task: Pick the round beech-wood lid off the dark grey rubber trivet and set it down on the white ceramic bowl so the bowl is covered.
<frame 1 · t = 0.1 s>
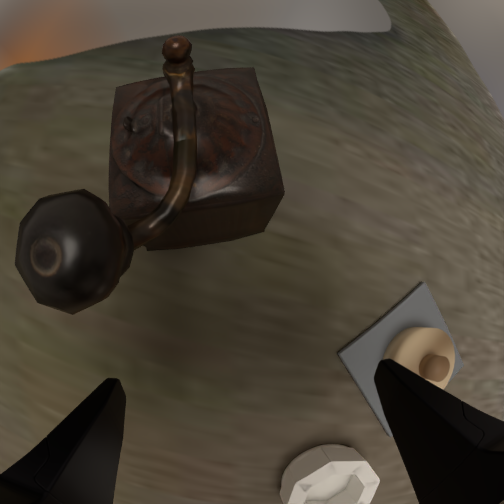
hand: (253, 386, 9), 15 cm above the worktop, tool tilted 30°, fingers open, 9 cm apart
lid: (411, 362, 24), point 1 cm above the worktop, touching trivet
manual coffee grinder: (198, 214, 26), on the worktop
bowl: (321, 476, 22), on the worktop
trivet: (408, 361, 24), on the worktop
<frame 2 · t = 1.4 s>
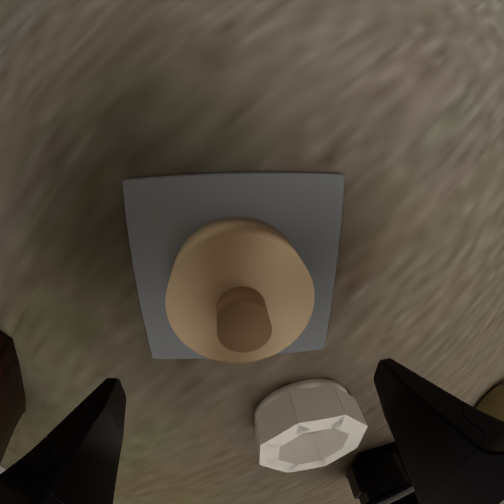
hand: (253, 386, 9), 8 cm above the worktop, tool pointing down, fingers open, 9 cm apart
lid: (237, 279, 16), point 1 cm above the worktop, touching trivet
manual coffee grinder: (0, 366, 18), on the worktop
squeeze bottle: (487, 397, 29), on the worktop
bowl: (302, 410, 22), on the worktop
trivet: (236, 274, 17), on the worktop
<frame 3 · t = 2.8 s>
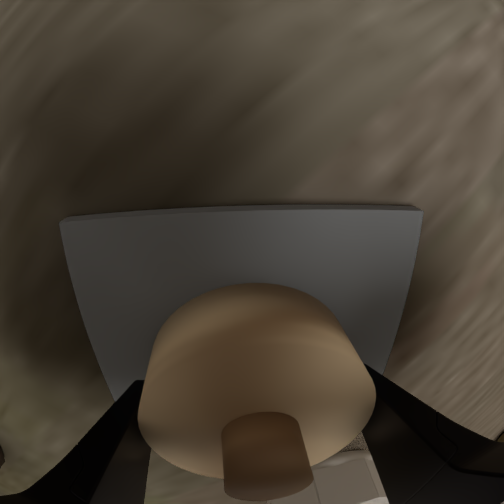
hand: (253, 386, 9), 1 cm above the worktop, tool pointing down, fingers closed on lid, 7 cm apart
lid: (250, 369, 10), point 1 cm above the worktop, touching gripper, trivet
bowl: (322, 477, 16), on the worktop
trivet: (249, 357, 10), on the worktop
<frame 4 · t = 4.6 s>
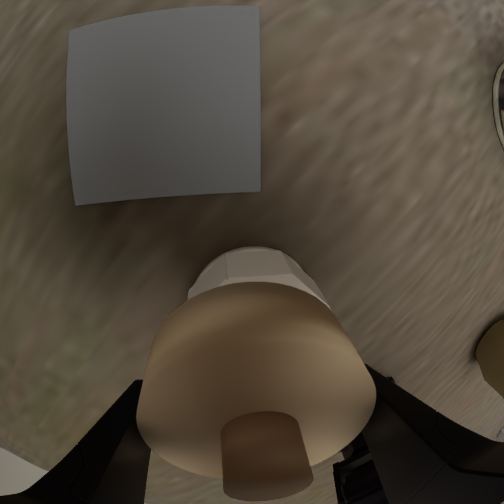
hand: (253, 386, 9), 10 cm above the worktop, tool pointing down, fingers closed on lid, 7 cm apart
lid: (250, 368, 10), point 10 cm above the worktop, touching gripper
squeeze bottle: (489, 337, 27), on the worktop
medicine box: (503, 428, 52), on the worktop
bowl: (251, 300, 20), on the worktop
trivet: (158, 99, 14), on the worktop
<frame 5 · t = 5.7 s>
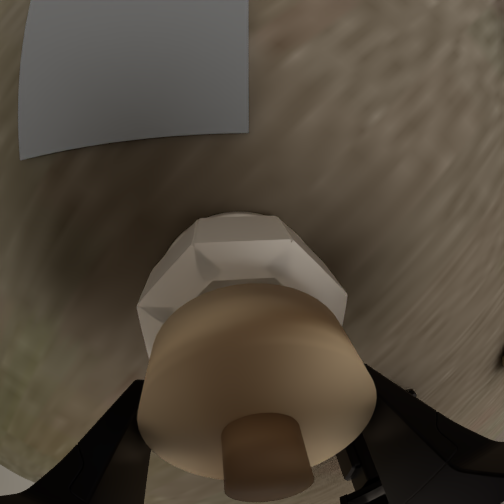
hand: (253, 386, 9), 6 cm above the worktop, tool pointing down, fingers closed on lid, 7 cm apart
lid: (250, 369, 10), point 6 cm above the worktop, touching gripper
bowl: (238, 288, 15), on the worktop
trivet: (124, 28, 10), on the worktop
when the fingers open (6 cm above the worktop, at t = 6.7 s): lid drops 1 cm, resting on bowl.
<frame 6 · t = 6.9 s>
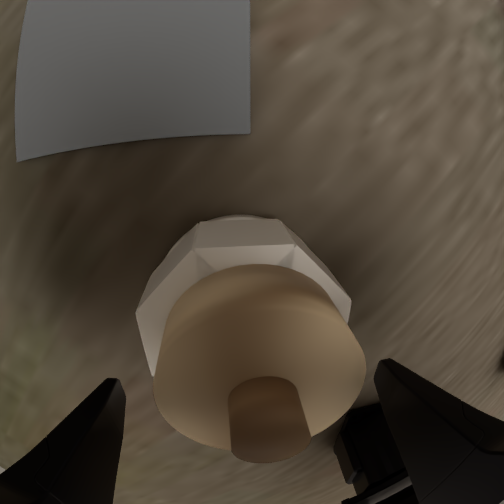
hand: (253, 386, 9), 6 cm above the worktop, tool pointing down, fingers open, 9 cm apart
lid: (253, 345, 11), point 4 cm above the worktop, touching bowl
bowl: (239, 293, 15), on the worktop, touching lid
trivet: (122, 27, 9), on the worktop
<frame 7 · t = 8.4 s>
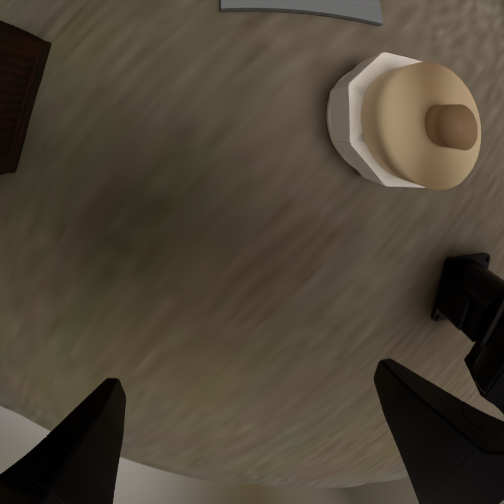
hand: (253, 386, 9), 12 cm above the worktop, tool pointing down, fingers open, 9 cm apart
lid: (411, 124, 14), point 4 cm above the worktop, touching bowl
manual coffee grinder: (10, 106, 15), on the worktop
bowl: (378, 120, 18), on the worktop, touching lid
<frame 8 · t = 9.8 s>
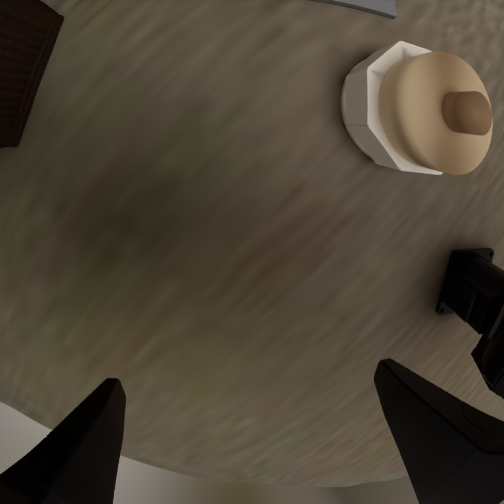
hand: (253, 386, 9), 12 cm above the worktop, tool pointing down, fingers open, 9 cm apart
lid: (425, 112, 14), point 4 cm above the worktop
manual coffee grinder: (16, 80, 14), on the worktop
bowl: (391, 109, 18), on the worktop
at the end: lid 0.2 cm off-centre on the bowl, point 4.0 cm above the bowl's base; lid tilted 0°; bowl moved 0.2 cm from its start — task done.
